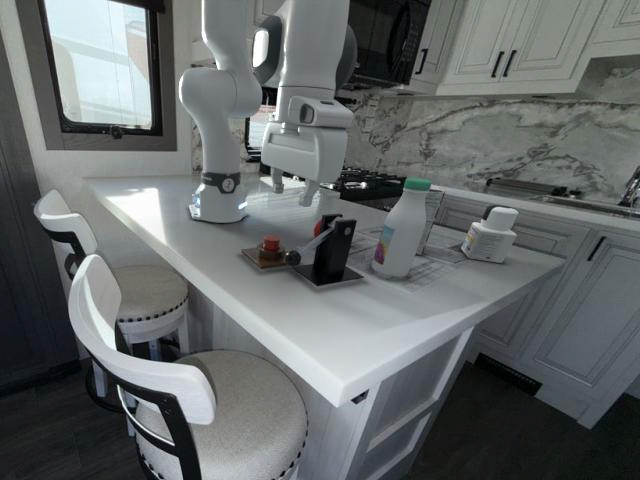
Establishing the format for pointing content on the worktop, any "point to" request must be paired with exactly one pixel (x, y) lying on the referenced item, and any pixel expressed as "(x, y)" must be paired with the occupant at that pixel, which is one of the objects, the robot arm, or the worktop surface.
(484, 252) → the container
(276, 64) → the robot arm
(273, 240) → the button
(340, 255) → the bracket
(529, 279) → the worktop surface
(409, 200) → the milk bottle
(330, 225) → the lever
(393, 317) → the worktop surface
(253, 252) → the button block
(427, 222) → the candy bar box
